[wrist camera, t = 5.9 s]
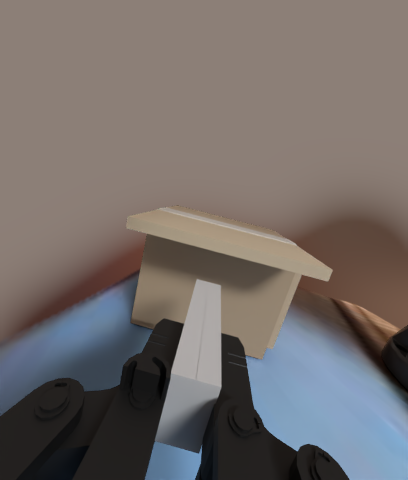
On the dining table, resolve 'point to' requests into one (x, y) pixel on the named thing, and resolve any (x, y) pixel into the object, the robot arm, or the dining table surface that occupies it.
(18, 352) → the dining table surface
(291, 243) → the flap
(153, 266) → the carton
